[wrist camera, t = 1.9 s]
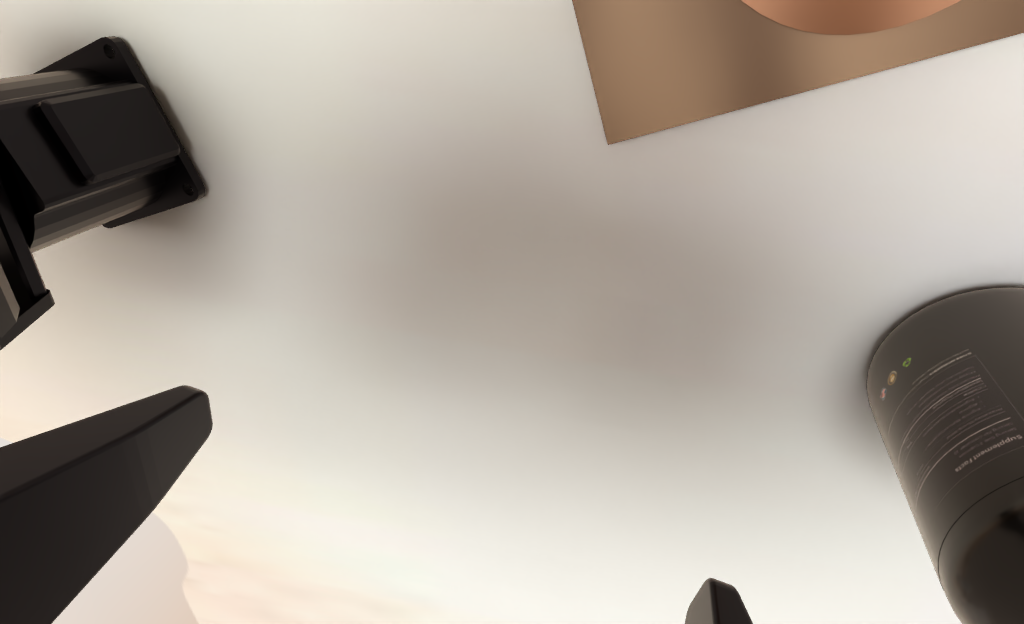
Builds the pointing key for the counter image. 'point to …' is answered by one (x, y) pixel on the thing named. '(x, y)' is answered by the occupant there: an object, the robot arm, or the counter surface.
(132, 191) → the robot arm
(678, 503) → the counter surface
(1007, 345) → the supplement bottle
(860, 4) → the card
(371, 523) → the counter surface
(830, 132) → the counter surface
